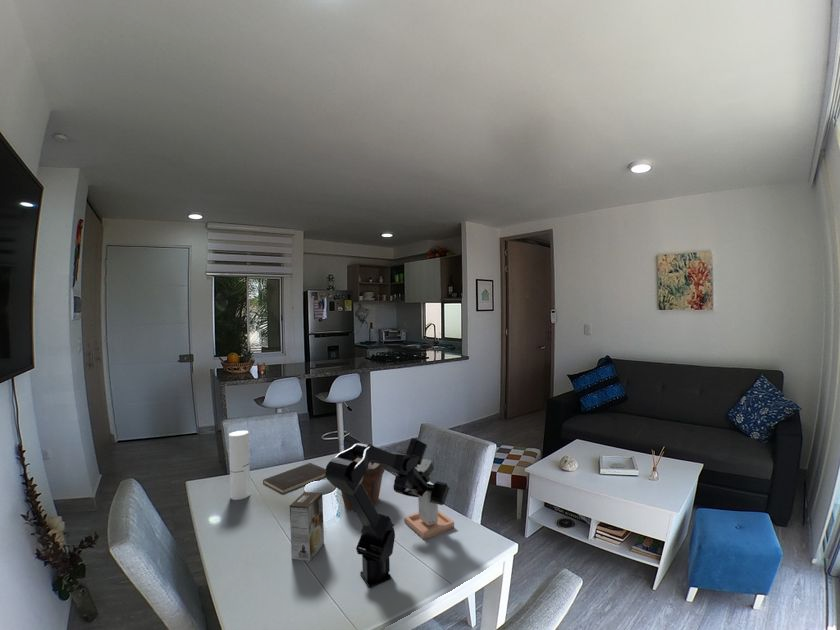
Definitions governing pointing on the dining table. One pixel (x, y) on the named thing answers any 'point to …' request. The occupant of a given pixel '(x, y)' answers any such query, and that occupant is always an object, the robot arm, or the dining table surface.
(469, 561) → the dining table surface
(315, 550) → the coffee box
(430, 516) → the skincare box
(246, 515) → the dining table surface
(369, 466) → the brown flower pot
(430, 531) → the terracotta dish
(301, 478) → the hardcover book
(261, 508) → the dining table surface
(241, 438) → the cylindrical container
